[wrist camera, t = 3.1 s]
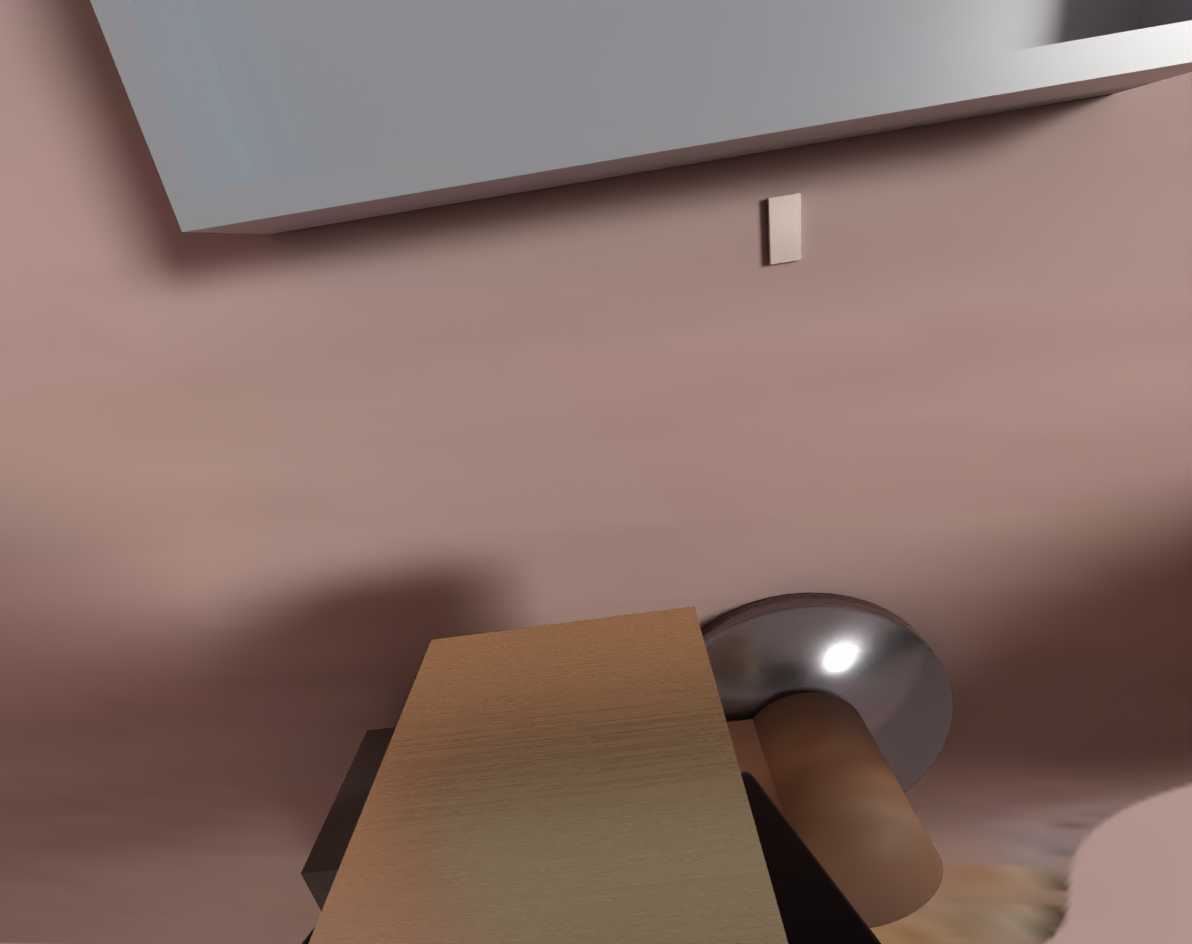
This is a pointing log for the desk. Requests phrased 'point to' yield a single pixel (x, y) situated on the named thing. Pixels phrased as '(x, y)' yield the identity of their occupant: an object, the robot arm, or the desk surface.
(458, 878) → the stop block
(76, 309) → the desk surface
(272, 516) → the desk surface
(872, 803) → the crank lever
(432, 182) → the stop tray
